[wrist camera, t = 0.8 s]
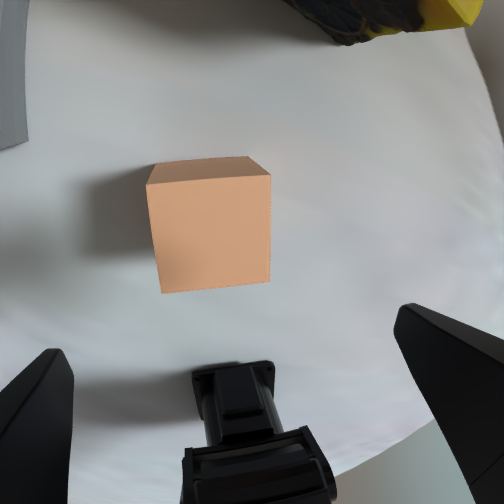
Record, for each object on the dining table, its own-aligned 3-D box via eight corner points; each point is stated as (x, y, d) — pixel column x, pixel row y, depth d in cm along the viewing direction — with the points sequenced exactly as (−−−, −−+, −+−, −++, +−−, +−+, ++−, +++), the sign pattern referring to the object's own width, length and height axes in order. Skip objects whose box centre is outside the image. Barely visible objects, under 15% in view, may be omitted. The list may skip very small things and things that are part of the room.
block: (248, 239, 19) (269, 281, 15) (165, 247, 18) (161, 293, 14) (247, 156, 17) (271, 174, 13) (156, 163, 16) (145, 185, 12)
